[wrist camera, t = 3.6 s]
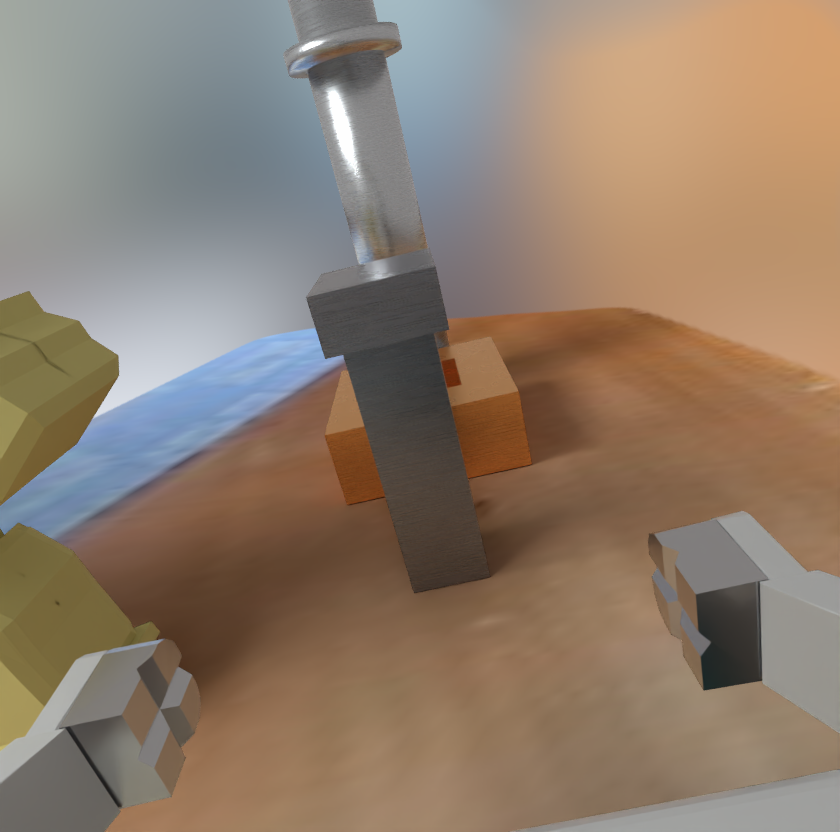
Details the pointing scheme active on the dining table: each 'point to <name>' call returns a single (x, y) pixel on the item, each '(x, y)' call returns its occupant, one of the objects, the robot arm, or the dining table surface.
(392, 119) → the metal post on base
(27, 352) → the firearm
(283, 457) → the dining table surface
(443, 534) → the grey square peg
